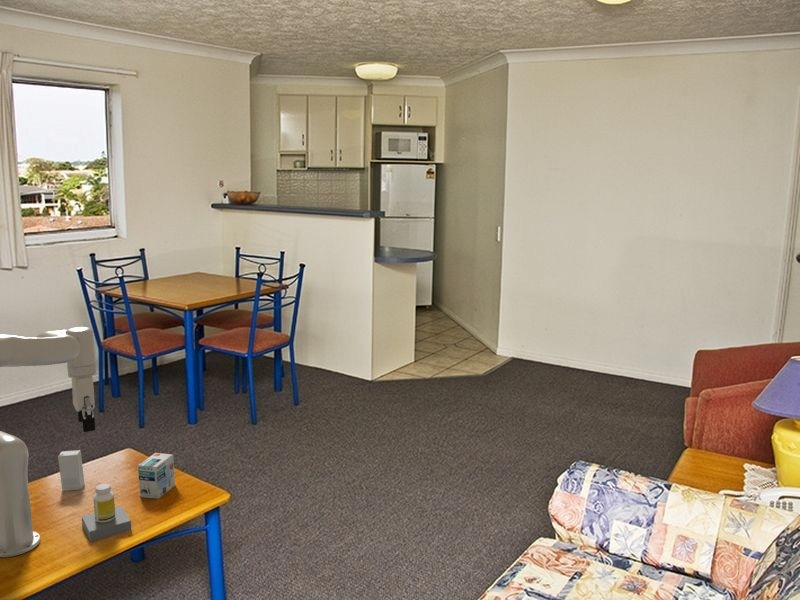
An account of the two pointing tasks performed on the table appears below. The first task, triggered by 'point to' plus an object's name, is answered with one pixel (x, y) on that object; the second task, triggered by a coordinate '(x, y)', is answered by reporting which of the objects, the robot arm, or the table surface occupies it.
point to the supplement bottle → (104, 503)
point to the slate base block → (106, 525)
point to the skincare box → (71, 470)
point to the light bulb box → (156, 475)
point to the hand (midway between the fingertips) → (86, 425)
